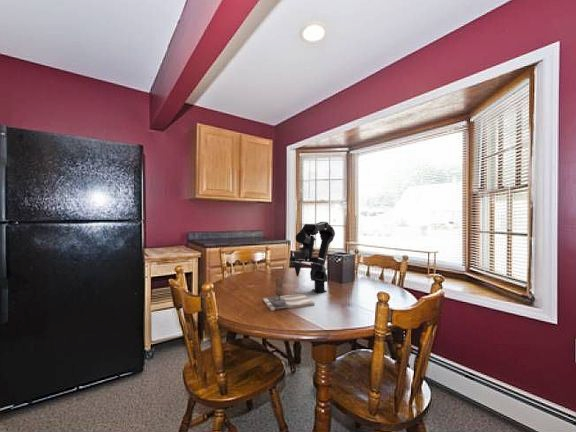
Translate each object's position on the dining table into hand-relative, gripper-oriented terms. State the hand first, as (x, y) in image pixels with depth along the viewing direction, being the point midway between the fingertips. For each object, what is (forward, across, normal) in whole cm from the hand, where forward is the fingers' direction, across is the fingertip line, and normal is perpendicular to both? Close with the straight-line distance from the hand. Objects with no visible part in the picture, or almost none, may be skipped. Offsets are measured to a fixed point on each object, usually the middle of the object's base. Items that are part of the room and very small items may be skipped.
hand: (304, 276), depth 144 cm
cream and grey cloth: (+14, -5, -3) cm, 15 cm away
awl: (+15, -5, -10) cm, 19 cm away
